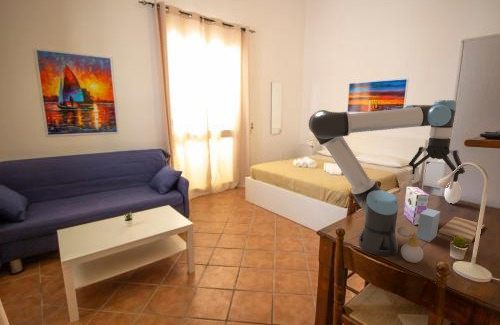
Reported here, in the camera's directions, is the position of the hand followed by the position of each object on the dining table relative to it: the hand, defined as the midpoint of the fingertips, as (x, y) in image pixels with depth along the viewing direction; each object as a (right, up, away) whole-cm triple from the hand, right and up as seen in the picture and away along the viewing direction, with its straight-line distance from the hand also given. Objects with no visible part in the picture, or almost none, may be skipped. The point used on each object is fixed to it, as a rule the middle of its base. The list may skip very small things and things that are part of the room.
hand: (432, 184), depth 115 cm
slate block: (0, -24, +4) cm, 25 cm away
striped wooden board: (+22, -23, +11) cm, 33 cm away
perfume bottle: (-19, -28, -13) cm, 37 cm away
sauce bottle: (+42, -15, +44) cm, 63 cm away
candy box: (+5, -21, +22) cm, 30 cm away
